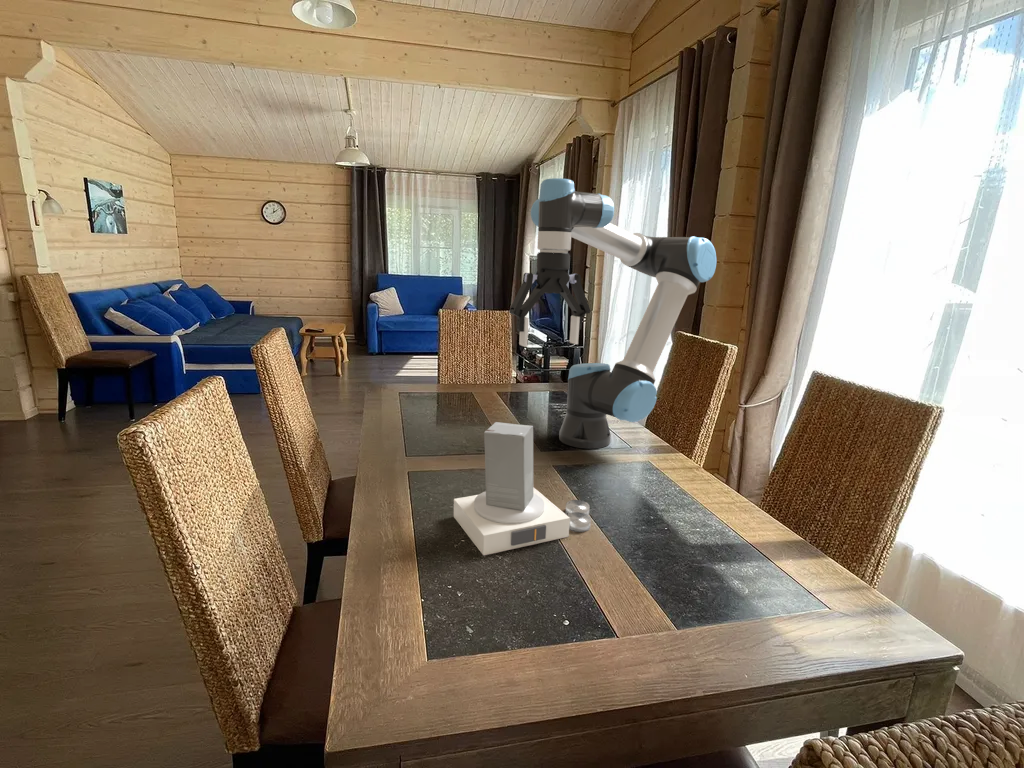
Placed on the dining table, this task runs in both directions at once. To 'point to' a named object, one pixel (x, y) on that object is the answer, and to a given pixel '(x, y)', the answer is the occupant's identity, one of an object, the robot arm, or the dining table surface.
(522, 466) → the skincare box
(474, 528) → the scale
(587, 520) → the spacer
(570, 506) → the spacer
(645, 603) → the dining table surface
